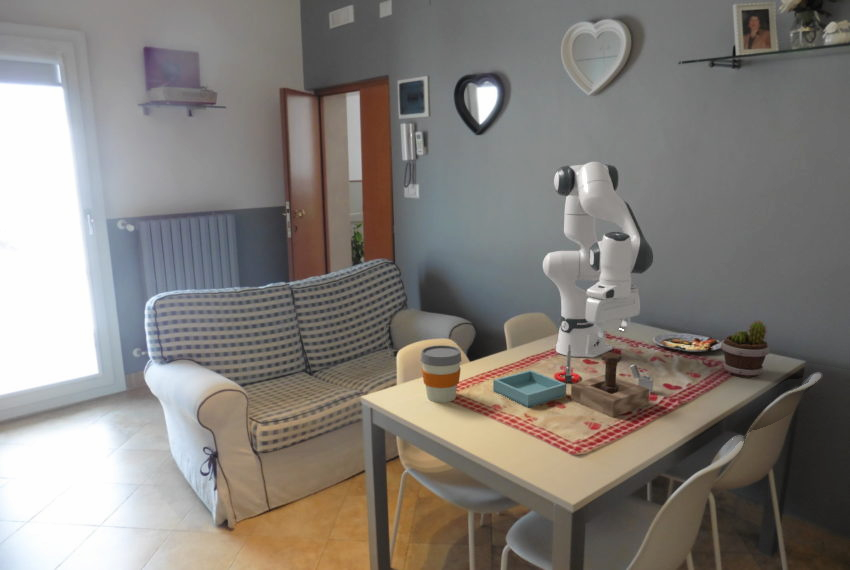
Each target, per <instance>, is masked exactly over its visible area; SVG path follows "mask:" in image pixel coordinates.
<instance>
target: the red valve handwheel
mask: <svg viewBox="0 0 850 570" xmlns="http://www.w3.org/2000/svg"><path fill="white" fill-rule="evenodd" d="M570 349H571V345H568V351H567V355H566V367H565V371H560V372H556V373H554V375H553V377H554V379H555V380H557V381H560V382H563V383H565V382H566V383H565V384H575V383H578V382H580V379H581V376H580V374H578V373H576V372H572V367H571V364H572V363H571V361H572V360H571V359H572V356H571V351H570ZM560 375H562V376H560ZM573 376H574V377H573Z"/></svg>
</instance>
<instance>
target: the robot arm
mask: <svg viewBox="0 0 850 570" xmlns="http://www.w3.org/2000/svg"><path fill="white" fill-rule="evenodd" d="M619 183H620V175H619V171H618V169H617V167H616V166H615V165H611V164H603V163H601V162H599V161H590V162H587V163H585V164H576V165H563V166H561V167H559V168H557V169H556V172H555V175H554V179H553V185H554V188H555V189H554V190H555V191H556V193H557V194H558V195H559V196H562V197H566V198H565V204H564V219H563V221H564V222H563V232H564V236H565V237H566V238H567V239H569V240H570V241H572V242H574V243H575V244H577V245H579V246H580V249H579V250H557V251H552V252H548V253H547V254H546V255H545V256H544V259H543V261H542V270H543V273H544V274H545V276H546V277H547V278H549V279H550V280H551V281H552V282H553V283H554V285H556V287H557V289H558V291H559V294H560V301H561V302H560V304H561V305H560V307H561V308H560V309H561V314H560V315H559V330H558V338H557V343H555V347H556V348H555V351H556V353H558V354H560V355H563V356H567V351H568V345H571V349H570V351H571V357H575V358H576V357H577V358H578V357H582V358H593V359H594V358H596V357H599V356H600V355H601V356H602V355H603V354H604V353H608V352H609V351H612V350H613V346H612V345H610V344H608V343H607V331H606V330H605V329H604V327H605V323H611V322H614V321H618V320H622V322H621V324H620V325H619V326H618V328H619V329H618V330H619V332H621V333H625V332H626V333H627V332H628V326H629V324H630V323H631V319H632V317H637V316H639V315H640V312H641V299H640V294H639V289H638V287H637V286H636V285H634V284H632V276H631V275H632V274H640V275H641V274H644V273H645V272H646V271H648V270H649V269H650V268H651V266H652V265H653V263H654V262H653V261H654V253H653V248H652V246H651V245H650V243H649V242H648V241H647V238H646V237H645V236H644V234H643V232H642V229H641V227H640V225H639V223H638V221H637V218H636V216H635V213H634V212H633V210H632V208H631V206H630V204H629V203H628V202H627V201H626V200H624V199H622V198H621V197H620V196H619V195H618V194H617V193H616V191H617V189H618V186H619ZM596 219H600V220H604V221H608V222H610V223H613V224H616V226H619V227H620V229H621V231H609V232H606V233H604V235H602V240H599V241H598V237H597V235H596V234H597V232H596ZM576 281H597V282H596V283H595V284H594V285H592V286H590V287H589V288H587V289H586V290H585V289H583V288H582V287H579V286H577V284H576Z"/></svg>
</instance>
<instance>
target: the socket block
mask: <svg viewBox="0 0 850 570" xmlns="http://www.w3.org/2000/svg"><path fill="white" fill-rule="evenodd" d="M604 383H605V374H602V375H598V376H596V377H592V378H589V379H585V380H581V381H579V382H578V383H570V384H571V387H570V389H571V390H570V400H571V401H572V400H573V401H572V402H575V403H577V404H579V403H580V405H582V406H584V405H585V406H584V407H587V408H589V407H590V408H589V409H591V408H592V410H594V409H595V410H594V411H596V412H598V411H599V412H598V413H601V414H604V415H606V416H609V417H611V418H615V417H618V416H620V415H623V414H627V413H630V412H632V411H634V410H638V409H641V408H644V407H646V406H645V405H647V406H649V405H648V404H649V403H650V393H649V389H648V388H645V387H642V386H640V385H638V383H633V382H631V381H628V380H625V379H622V378H620V377H617V376H616V385H617V386H618V387H619V388H618V392H617V393H614V394H610V393H608V392H605V391H602V390H601V387H602V385H603V384H604ZM643 406H644V407H643ZM640 407H641V408H640ZM629 411H630V412H629Z"/></svg>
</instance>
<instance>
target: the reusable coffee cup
mask: <svg viewBox="0 0 850 570" xmlns="http://www.w3.org/2000/svg"><path fill="white" fill-rule="evenodd" d="M420 361H421V364H422V367H421V374H422V380H423V384H424V385H425V391H426V398H427V399H428V400H429V401H430V402H433V403H450V402H452V401H454V400H455V399H456V397H457V390H458V389H457V388H458V384H459V383H460V377H461V362H462V354H461V350H460V349H459V348H458V347H456V346H452V345H440V344H439V345H431V346H428V347H425V348H423V349H422V350H421V355H420Z"/></svg>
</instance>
